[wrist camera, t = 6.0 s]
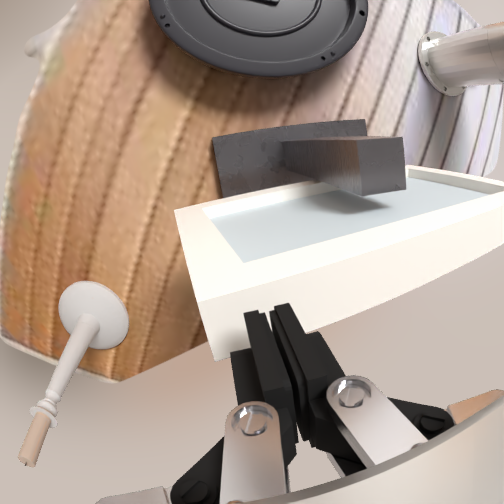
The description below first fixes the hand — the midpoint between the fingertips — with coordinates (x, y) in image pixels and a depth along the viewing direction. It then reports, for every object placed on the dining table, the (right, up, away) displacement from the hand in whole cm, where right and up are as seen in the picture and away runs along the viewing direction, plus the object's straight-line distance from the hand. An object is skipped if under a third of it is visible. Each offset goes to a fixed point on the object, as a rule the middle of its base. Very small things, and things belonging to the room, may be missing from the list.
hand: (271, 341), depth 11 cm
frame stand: (+5, +17, +31) cm, 35 cm away
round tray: (0, +40, +22) cm, 46 cm away
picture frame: (+6, +10, +22) cm, 25 cm away
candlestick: (-27, -7, +34) cm, 44 cm away
